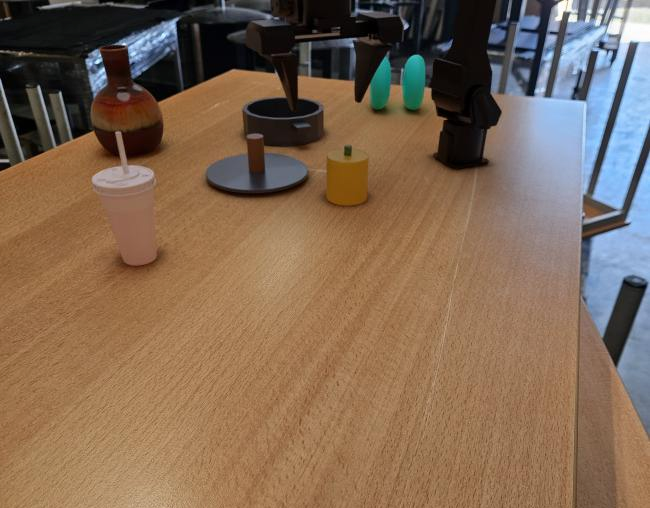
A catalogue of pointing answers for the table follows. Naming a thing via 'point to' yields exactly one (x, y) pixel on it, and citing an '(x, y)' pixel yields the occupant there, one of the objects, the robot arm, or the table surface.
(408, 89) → the teal upright capsules
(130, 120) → the vase
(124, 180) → the smoothie
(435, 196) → the table surface
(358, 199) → the pepper
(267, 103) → the pan
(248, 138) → the pan lid
